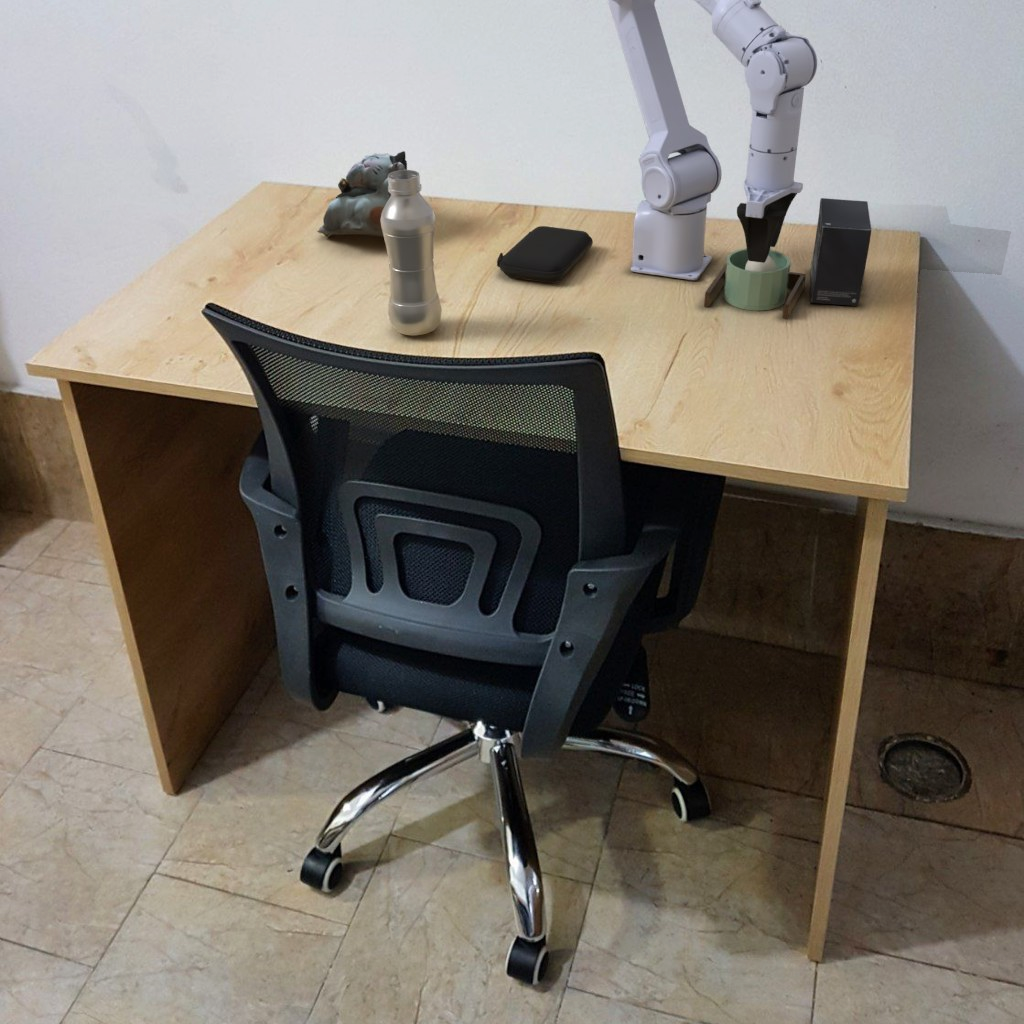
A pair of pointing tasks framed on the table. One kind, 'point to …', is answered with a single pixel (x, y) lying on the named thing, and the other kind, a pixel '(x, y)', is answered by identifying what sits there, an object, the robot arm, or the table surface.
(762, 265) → the off-white sphere
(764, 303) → the waste bin
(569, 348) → the table surface
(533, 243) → the carrying case
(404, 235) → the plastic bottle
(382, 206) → the lucky cat figurine
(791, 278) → the bar
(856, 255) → the small box
